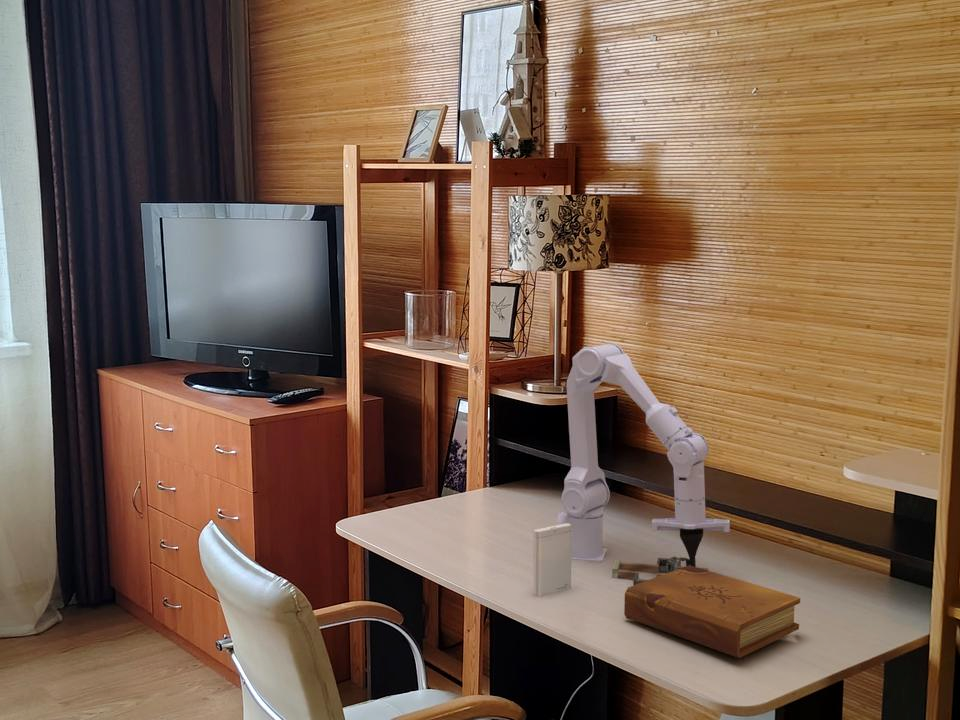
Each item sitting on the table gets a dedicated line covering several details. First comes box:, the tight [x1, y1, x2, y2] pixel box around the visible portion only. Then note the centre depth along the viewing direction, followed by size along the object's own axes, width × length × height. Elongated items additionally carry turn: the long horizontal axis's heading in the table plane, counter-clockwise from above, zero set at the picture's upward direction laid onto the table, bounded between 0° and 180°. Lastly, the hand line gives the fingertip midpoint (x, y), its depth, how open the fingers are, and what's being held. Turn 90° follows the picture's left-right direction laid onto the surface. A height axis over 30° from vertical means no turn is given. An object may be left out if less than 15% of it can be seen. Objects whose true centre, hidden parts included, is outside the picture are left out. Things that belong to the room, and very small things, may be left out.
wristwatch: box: [666, 556, 690, 573], centre depth 204 cm, size 3×5×5 cm, turn 111°
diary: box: [623, 565, 801, 659], centre depth 182 cm, size 23×19×6 cm
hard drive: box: [533, 523, 572, 598], centre depth 196 cm, size 2×8×12 cm, turn 125°
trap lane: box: [611, 557, 709, 586], centre depth 205 cm, size 18×15×2 cm
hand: (691, 567), depth 203 cm, fingers closed, pressing on wristwatch
